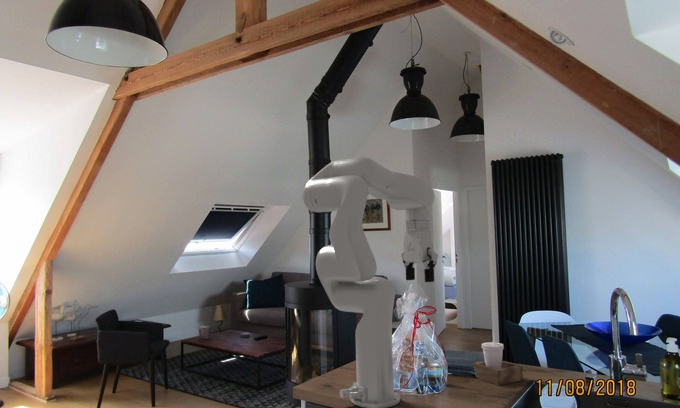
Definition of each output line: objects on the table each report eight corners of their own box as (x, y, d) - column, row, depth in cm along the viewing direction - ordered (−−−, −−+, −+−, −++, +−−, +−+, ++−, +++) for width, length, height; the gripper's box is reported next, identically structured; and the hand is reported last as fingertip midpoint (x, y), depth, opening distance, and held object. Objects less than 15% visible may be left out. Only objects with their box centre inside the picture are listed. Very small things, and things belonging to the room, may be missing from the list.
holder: (498, 385, 131) (497, 370, 132) (472, 376, 140) (472, 363, 141) (523, 380, 136) (522, 366, 136) (497, 372, 145) (496, 358, 145)
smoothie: (508, 380, 136) (506, 331, 137) (486, 381, 136) (484, 331, 137) (501, 374, 142) (499, 327, 143) (480, 374, 142) (478, 327, 143)
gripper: (392, 227, 155) (394, 280, 153) (425, 225, 140) (427, 283, 138) (411, 227, 158) (412, 278, 157) (445, 225, 143) (447, 282, 142)
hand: (419, 280), depth 148 cm, fingers open, 9 cm apart
